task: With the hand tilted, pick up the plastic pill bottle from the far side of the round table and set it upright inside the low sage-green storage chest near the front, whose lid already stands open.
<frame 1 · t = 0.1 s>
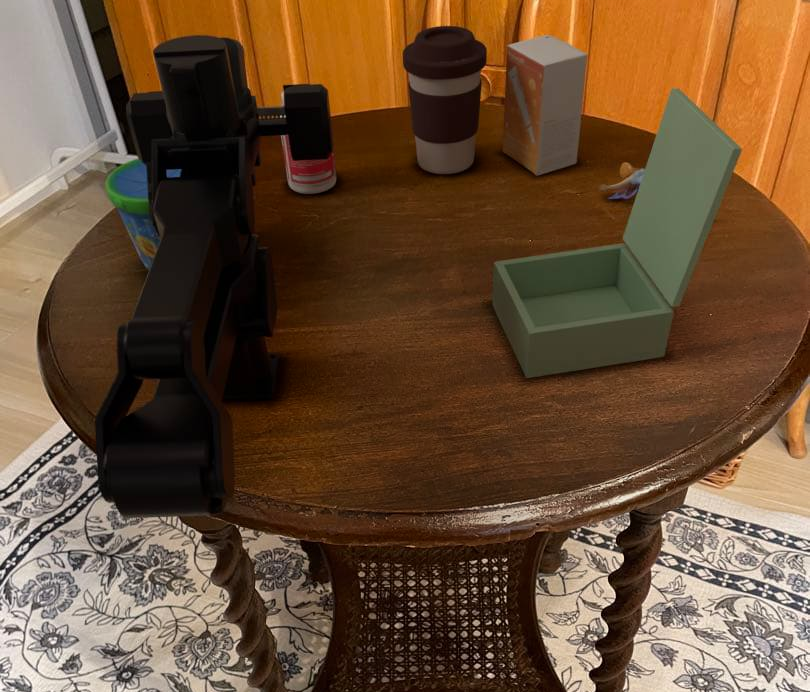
hand: (243, 92, 87), 17 cm above the table, tool horizontal, fingers open, 9 cm apart
pill bottle: (312, 185, 109), on the table
fairy figurine: (653, 208, 101), on the table
snack cup: (179, 265, 98), on the table
small box: (538, 160, 111), on the table
chest: (574, 330, 85), on the table
chest lid: (675, 199, 77), point 12 cm above the table, hinge at 100.0°
coffee cup: (445, 164, 111), on the table
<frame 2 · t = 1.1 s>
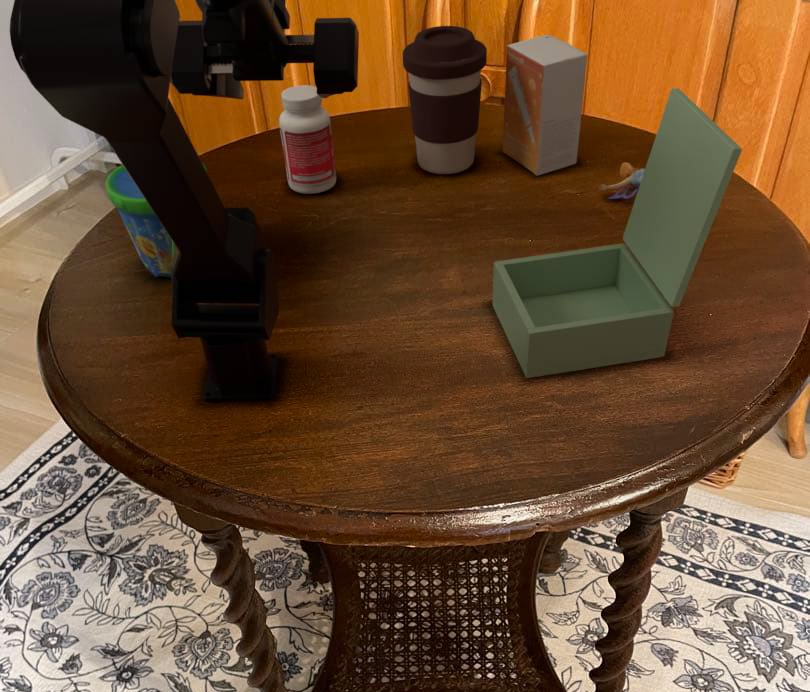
hand: (283, 93, 93), 14 cm above the table, tool tilted 45°, fingers open, 9 cm apart
nothing on the table moved.
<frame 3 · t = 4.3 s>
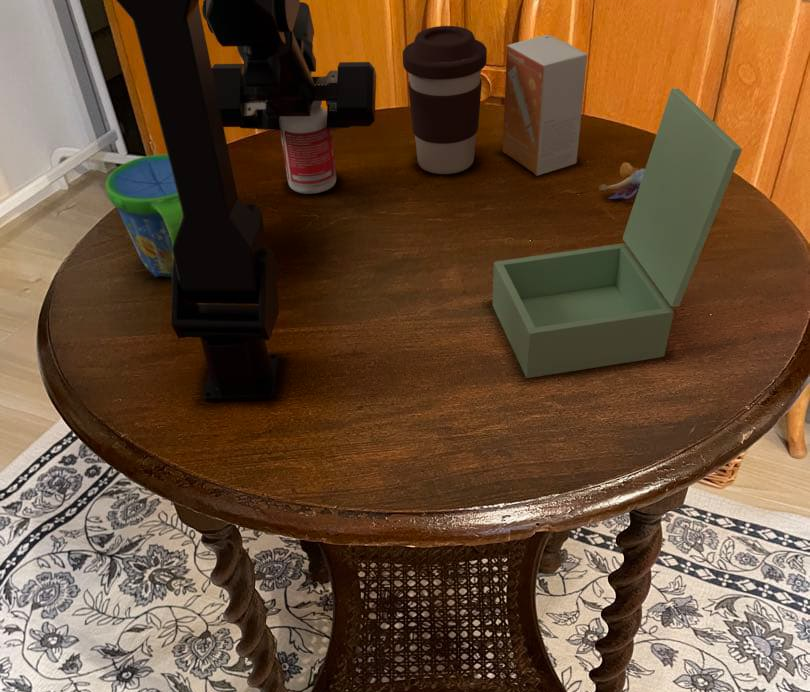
hand: (307, 126, 105), 7 cm above the table, tool tilted 45°, fingers closed on pill bottle, 6 cm apart
pill bottle: (312, 185, 109), on the table, touching gripper
everything else where it was.
when the fingers open (7 cm above the table, at t = 14.0 s): pill bottle stays where it is, resting on chest.
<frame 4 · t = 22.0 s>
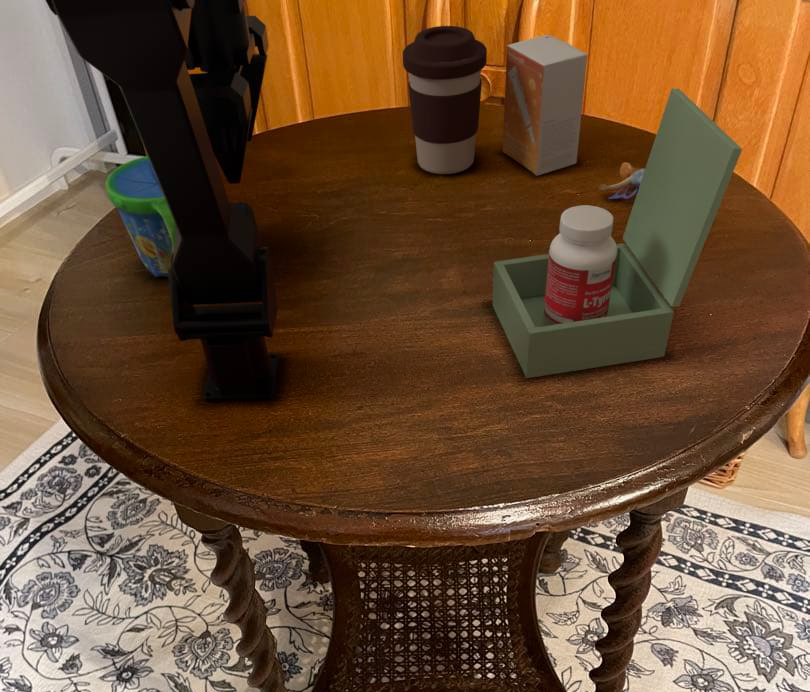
hand: (240, 161, 85), 13 cm above the table, tool pointing down, fingers open, 9 cm apart
pill bottle: (574, 324, 85), point 1 cm above the table, touching chest
everything else where it was.
at the end: pill bottle inside the target area in the chest (0.1 cm from its centre), point 0.6 cm above the chest's base; pill bottle tilted 0°; the gripper is holding nothing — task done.
